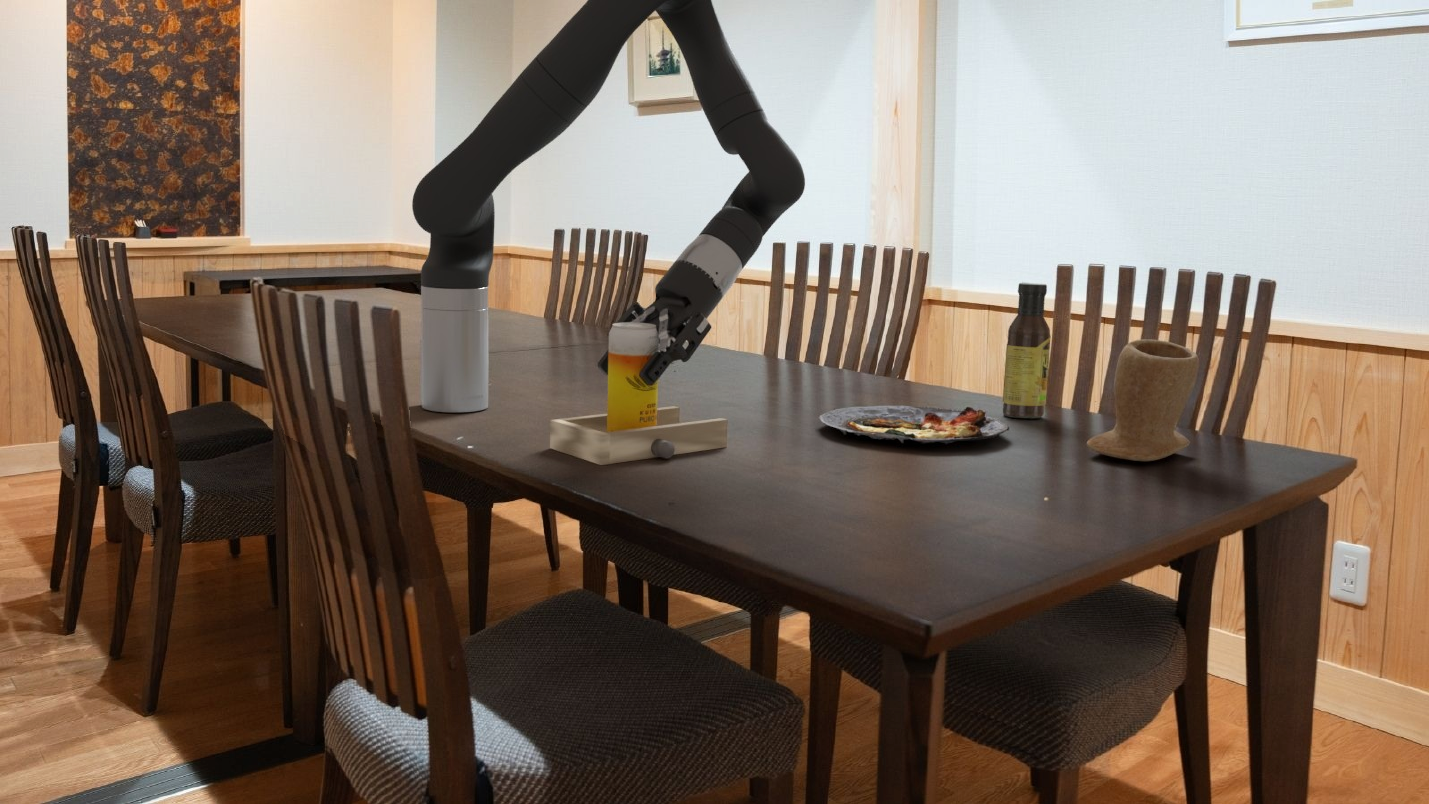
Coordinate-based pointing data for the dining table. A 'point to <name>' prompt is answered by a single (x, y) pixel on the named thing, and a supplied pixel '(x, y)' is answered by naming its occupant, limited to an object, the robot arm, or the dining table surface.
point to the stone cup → (1149, 401)
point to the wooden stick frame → (635, 437)
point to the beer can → (631, 377)
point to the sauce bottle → (1027, 356)
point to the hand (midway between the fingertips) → (623, 376)
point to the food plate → (915, 423)
